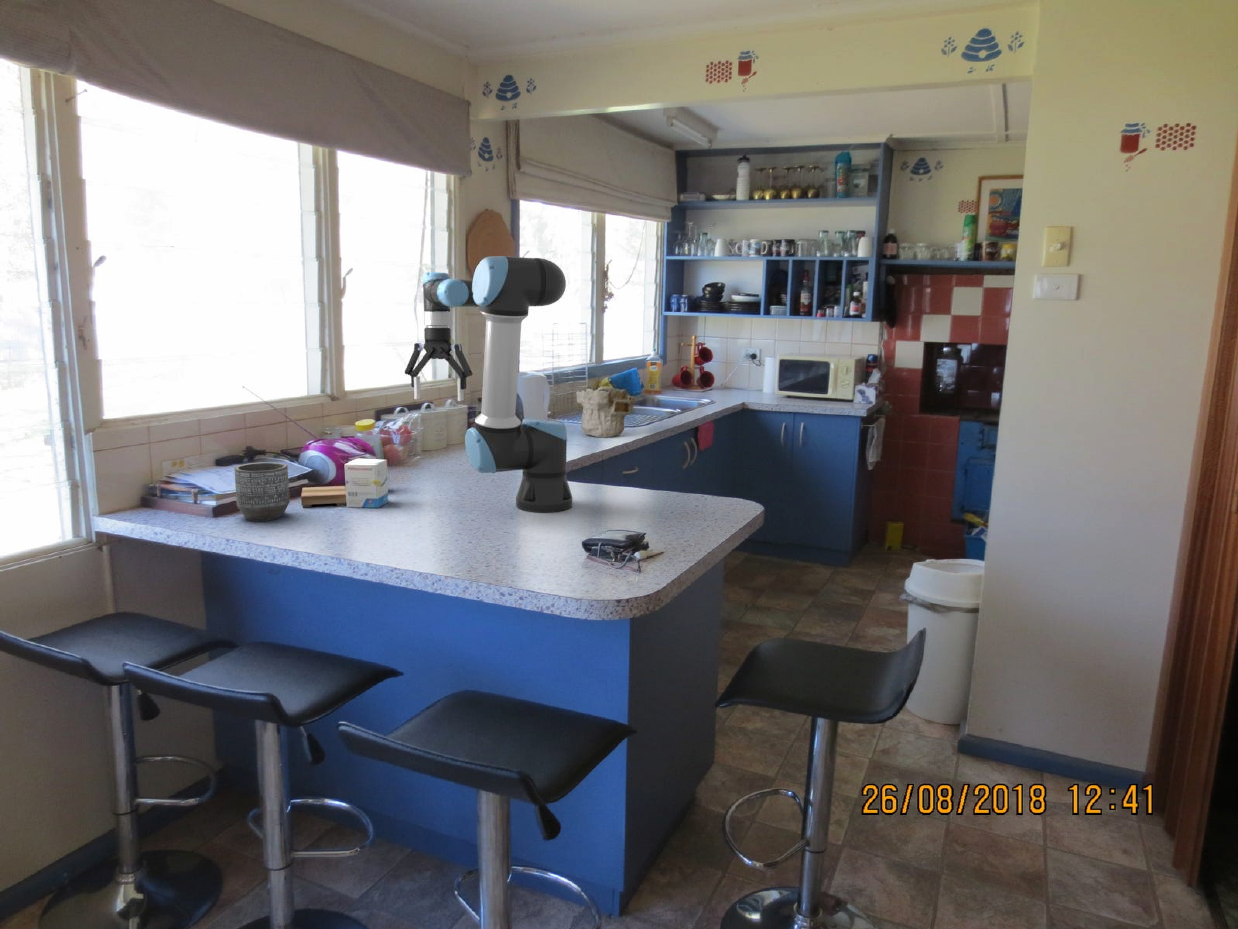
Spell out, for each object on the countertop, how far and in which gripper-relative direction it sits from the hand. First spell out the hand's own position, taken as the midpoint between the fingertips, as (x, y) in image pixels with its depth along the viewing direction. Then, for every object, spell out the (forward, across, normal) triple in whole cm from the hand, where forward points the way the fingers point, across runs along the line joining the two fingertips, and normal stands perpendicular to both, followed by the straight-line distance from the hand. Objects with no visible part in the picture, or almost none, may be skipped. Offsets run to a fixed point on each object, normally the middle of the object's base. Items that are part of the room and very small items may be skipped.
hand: (439, 399), depth 254 cm
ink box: (+25, +7, +32) cm, 41 cm away
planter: (+25, +24, +52) cm, 63 cm away
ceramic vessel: (+24, -28, -105) cm, 112 cm away
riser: (+25, +19, +34) cm, 46 cm away
